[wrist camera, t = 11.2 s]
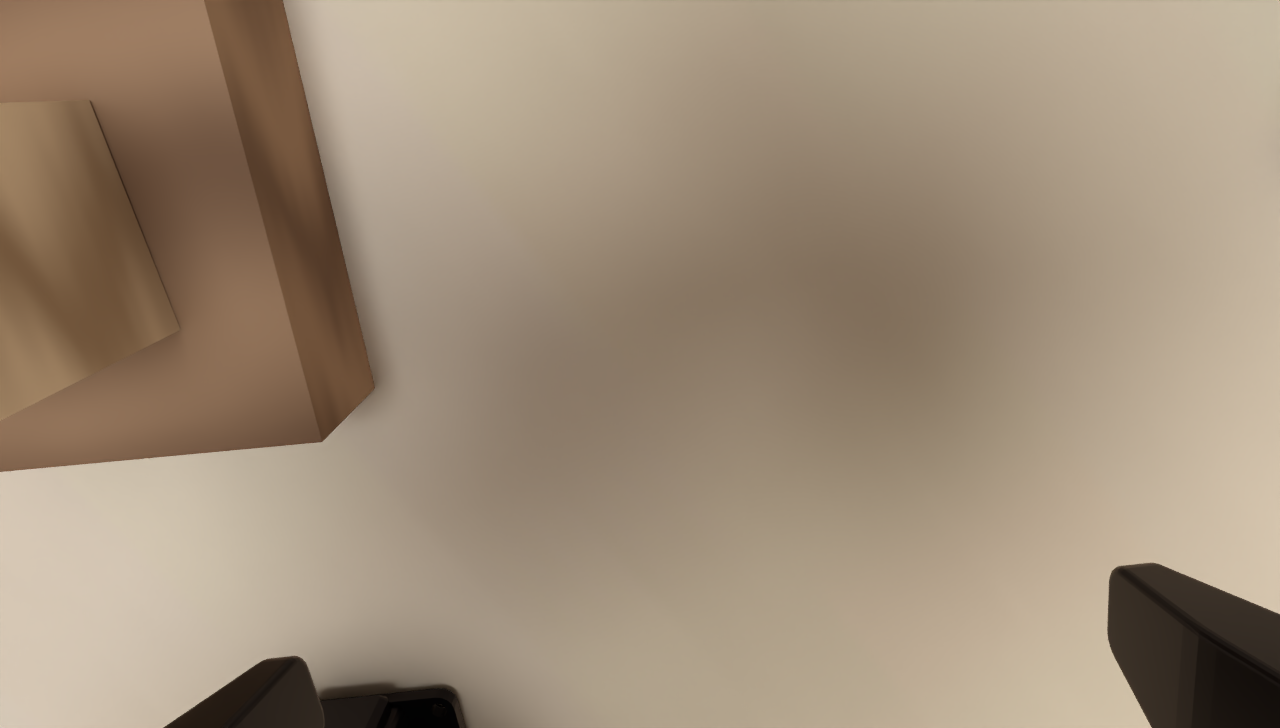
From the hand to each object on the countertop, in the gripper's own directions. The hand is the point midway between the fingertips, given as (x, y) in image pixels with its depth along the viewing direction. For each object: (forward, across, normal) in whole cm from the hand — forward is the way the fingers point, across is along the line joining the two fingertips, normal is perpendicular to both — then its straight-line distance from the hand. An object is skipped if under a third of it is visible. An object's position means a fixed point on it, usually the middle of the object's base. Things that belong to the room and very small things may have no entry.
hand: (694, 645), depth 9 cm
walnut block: (+14, +14, -5) cm, 20 cm away
